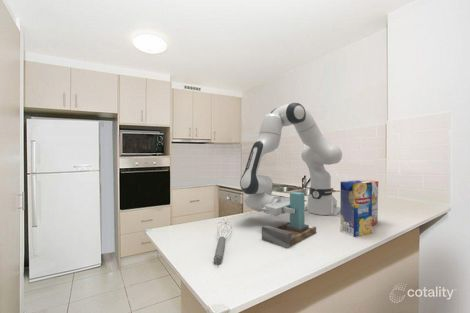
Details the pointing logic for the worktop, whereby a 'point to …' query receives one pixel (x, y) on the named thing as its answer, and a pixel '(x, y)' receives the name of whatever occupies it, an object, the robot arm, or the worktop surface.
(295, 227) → the teal block on base
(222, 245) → the kitchen whisk
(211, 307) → the worktop surface
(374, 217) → the cracker box
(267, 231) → the track
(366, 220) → the beverage box
